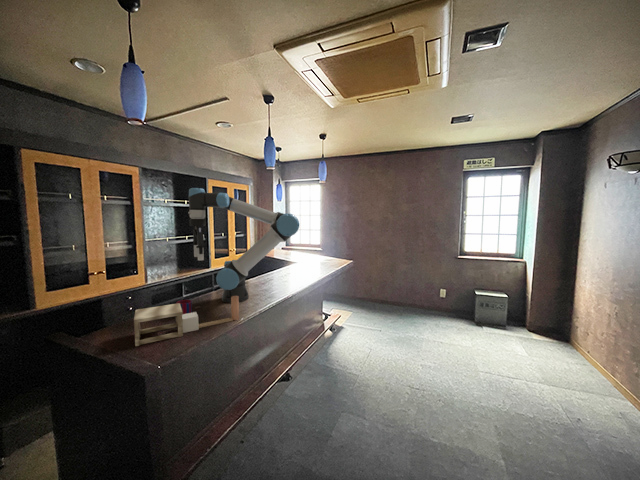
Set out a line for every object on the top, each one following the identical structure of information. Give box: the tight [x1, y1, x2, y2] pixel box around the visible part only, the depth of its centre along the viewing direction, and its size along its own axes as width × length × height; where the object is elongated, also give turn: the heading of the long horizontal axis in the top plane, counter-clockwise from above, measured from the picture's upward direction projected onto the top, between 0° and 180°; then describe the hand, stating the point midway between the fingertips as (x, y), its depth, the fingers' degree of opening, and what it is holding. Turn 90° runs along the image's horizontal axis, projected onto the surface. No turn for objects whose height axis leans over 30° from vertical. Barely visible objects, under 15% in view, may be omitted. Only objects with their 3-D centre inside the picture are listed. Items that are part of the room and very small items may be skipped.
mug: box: [175, 299, 193, 314], centre depth 125 cm, size 7×10×7 cm
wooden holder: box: [133, 303, 184, 347], centre depth 105 cm, size 16×13×10 cm
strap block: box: [182, 296, 240, 334], centre depth 116 cm, size 24×6×11 cm, turn 124°
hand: (198, 258), depth 135 cm, fingers open, 13 cm apart
